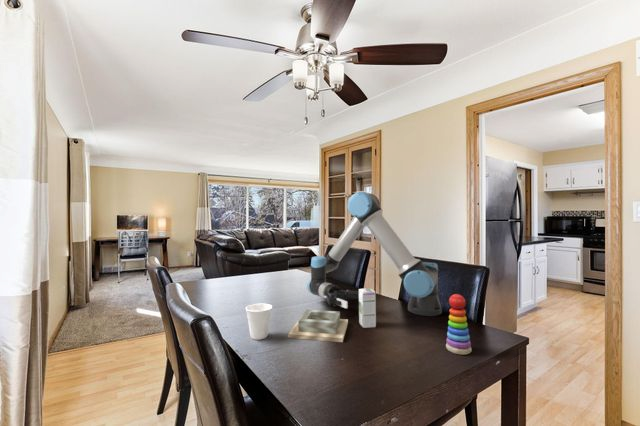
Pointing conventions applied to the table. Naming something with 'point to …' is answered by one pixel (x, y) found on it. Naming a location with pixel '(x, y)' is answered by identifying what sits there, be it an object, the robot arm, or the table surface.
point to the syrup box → (367, 308)
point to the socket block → (320, 326)
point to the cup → (259, 320)
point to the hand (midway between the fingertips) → (359, 302)
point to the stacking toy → (458, 327)
